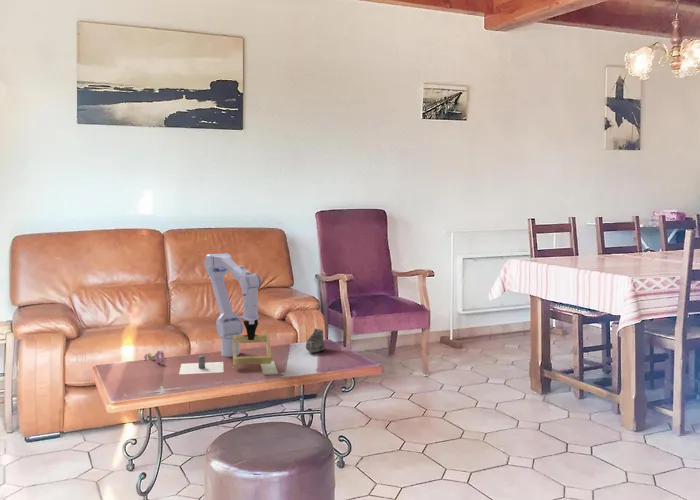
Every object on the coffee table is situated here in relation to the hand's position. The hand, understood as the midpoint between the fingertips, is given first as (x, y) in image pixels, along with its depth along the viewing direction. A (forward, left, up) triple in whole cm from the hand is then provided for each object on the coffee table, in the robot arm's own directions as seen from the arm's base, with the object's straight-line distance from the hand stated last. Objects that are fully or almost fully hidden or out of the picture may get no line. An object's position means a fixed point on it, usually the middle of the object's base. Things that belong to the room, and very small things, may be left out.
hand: (250, 339), depth 257 cm
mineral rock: (-19, +28, -11) cm, 35 cm away
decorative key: (-10, -38, -11) cm, 41 cm away
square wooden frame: (+5, 0, -4) cm, 6 cm away
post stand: (+6, -19, -10) cm, 23 cm away
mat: (+6, 0, -10) cm, 12 cm away
